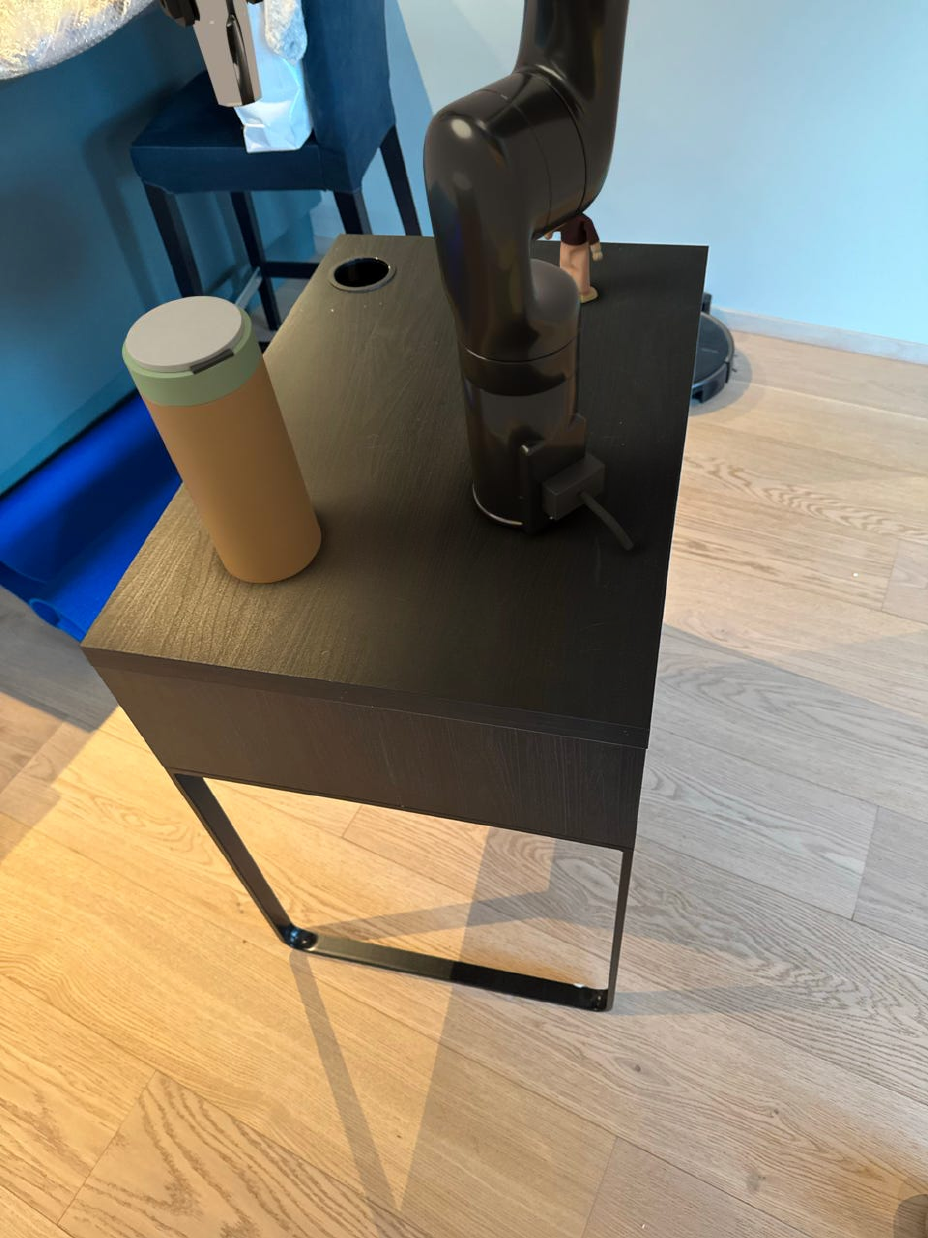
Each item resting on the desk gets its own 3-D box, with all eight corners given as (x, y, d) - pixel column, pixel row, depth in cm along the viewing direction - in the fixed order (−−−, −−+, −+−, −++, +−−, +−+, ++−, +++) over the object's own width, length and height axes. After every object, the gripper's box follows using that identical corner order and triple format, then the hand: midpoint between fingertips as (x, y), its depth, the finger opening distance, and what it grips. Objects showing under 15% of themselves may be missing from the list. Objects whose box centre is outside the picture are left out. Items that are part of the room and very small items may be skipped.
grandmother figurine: (611, 291, 94) (618, 174, 83) (596, 309, 92) (600, 192, 82) (551, 275, 96) (550, 161, 86) (534, 293, 95) (531, 178, 85)
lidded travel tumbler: (204, 541, 76) (98, 328, 58) (290, 494, 78) (213, 276, 61) (250, 600, 71) (149, 388, 54) (340, 548, 74) (272, 329, 56)
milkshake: (276, 108, 59) (237, -73, 51) (202, 112, 59) (152, -67, 52) (287, 84, 62) (252, -90, 54) (216, 89, 62) (171, -84, 55)
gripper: (-2, -356, 39) (144, 59, 53) (265, -403, 43) (337, -8, 57) (-44, -353, 43) (102, 32, 57) (205, -397, 47) (285, -29, 61)
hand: (219, 10), depth 57 cm, fingers closed on milkshake, 4 cm apart
